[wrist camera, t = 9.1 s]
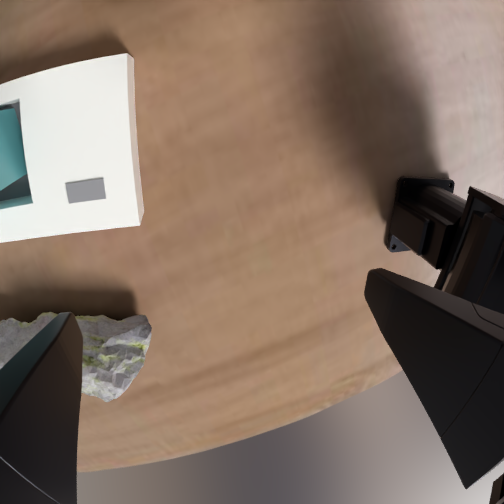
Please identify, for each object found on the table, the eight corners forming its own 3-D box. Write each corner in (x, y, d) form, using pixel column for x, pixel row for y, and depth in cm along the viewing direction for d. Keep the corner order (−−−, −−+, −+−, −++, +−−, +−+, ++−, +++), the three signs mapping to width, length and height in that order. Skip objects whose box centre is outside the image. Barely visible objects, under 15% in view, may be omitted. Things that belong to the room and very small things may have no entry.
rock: (14, 361, 24) (-5, 412, 18) (-12, 302, 20) (-44, 353, 15) (160, 365, 27) (161, 426, 21) (149, 301, 24) (145, 365, 18)
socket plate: (134, 58, 16) (126, 52, 13) (144, 210, 20) (139, 226, 18) (-42, 106, 13) (-62, 111, 11) (-20, 233, 18) (-36, 248, 16)
